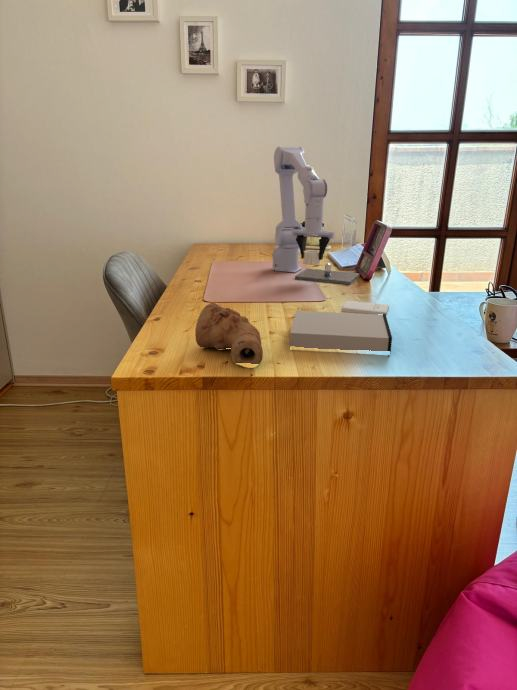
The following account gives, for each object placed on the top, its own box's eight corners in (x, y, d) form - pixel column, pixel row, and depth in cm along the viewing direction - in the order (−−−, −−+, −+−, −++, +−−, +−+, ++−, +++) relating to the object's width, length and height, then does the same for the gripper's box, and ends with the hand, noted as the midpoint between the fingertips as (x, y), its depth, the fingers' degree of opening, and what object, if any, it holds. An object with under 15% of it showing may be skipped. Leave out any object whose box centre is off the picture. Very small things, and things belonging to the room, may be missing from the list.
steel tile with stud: (295, 279, 180) (295, 264, 178) (307, 271, 192) (307, 257, 191) (350, 284, 173) (351, 269, 171) (359, 276, 185) (360, 261, 183)
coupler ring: (301, 264, 172) (301, 252, 170) (306, 261, 177) (307, 249, 175) (317, 265, 170) (317, 253, 168) (322, 262, 175) (322, 250, 173)
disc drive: (390, 358, 112) (392, 337, 111) (289, 352, 116) (290, 331, 114) (384, 332, 129) (385, 313, 127) (295, 327, 132) (296, 309, 130)
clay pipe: (252, 353, 123) (192, 336, 121) (266, 313, 120) (205, 294, 118) (253, 385, 105) (183, 364, 103) (269, 338, 102) (198, 317, 100)
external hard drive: (346, 305, 152) (388, 309, 148) (341, 313, 144) (386, 317, 141) (346, 300, 151) (389, 304, 147) (342, 307, 144) (386, 311, 140)
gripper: (289, 217, 167) (288, 258, 172) (331, 220, 162) (329, 262, 167) (296, 215, 173) (294, 255, 178) (337, 218, 168) (335, 258, 173)
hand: (312, 258), depth 173 cm, fingers closed on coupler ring, 6 cm apart
